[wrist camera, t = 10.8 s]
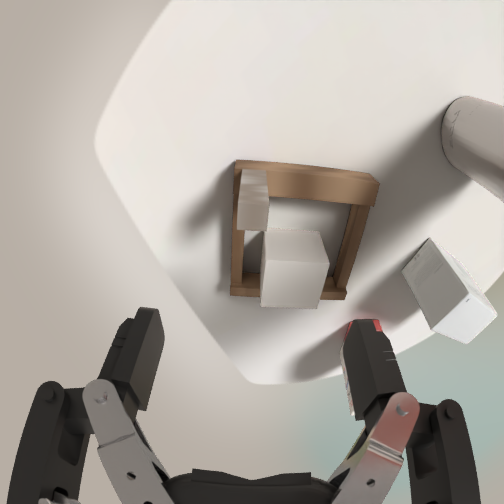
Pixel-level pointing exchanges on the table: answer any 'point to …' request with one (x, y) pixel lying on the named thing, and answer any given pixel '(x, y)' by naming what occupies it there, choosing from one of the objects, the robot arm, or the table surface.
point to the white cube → (292, 268)
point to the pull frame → (302, 187)
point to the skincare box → (447, 293)
